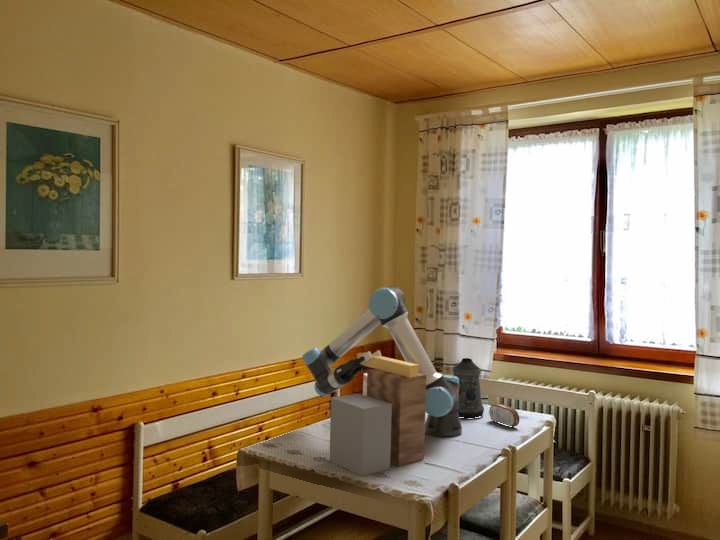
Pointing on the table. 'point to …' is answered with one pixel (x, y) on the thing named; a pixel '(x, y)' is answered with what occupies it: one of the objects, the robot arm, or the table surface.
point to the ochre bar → (391, 365)
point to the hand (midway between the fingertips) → (375, 354)
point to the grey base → (360, 433)
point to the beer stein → (468, 389)
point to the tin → (504, 414)
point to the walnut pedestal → (402, 412)
